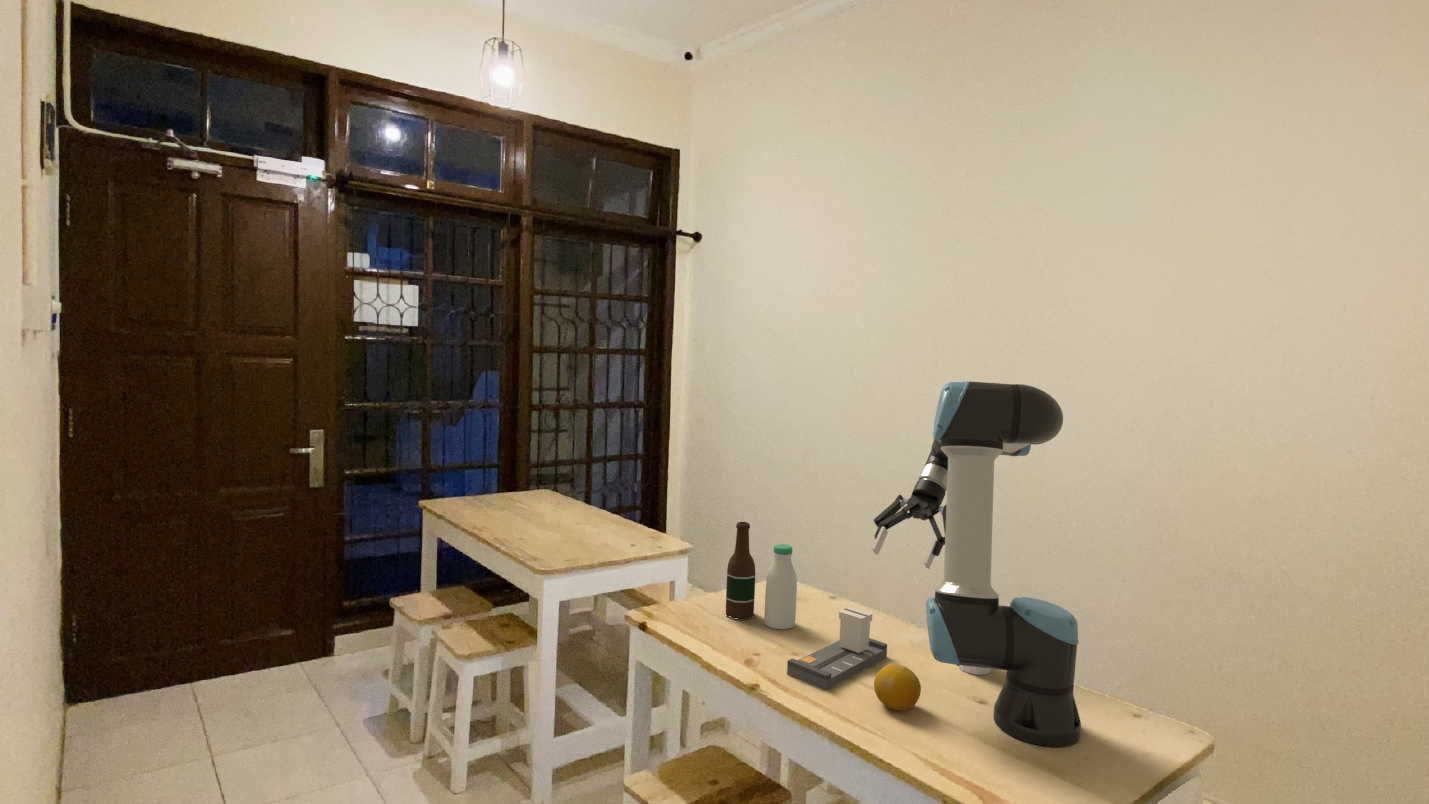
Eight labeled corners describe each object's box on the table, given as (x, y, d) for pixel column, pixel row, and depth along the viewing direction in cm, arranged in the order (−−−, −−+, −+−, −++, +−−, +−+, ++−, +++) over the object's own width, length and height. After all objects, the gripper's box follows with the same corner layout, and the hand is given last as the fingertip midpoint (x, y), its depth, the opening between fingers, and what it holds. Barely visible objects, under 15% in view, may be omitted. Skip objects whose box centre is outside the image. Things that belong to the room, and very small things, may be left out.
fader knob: (848, 640, 175) (850, 606, 174) (870, 648, 171) (872, 613, 170) (837, 646, 171) (839, 611, 171) (859, 654, 168) (861, 618, 167)
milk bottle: (799, 629, 187) (803, 549, 185) (769, 631, 185) (773, 550, 183) (789, 618, 194) (792, 541, 193) (760, 619, 192) (763, 542, 191)
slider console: (848, 643, 179) (849, 631, 179) (886, 656, 172) (887, 644, 172) (787, 674, 162) (787, 660, 161) (826, 690, 155) (826, 675, 155)
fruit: (921, 702, 151) (924, 663, 150) (916, 720, 144) (919, 679, 143) (876, 693, 154) (879, 655, 154) (869, 710, 147) (871, 670, 146)
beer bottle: (759, 612, 197) (763, 521, 195) (747, 622, 190) (751, 528, 188) (731, 607, 201) (735, 517, 199) (719, 616, 193) (723, 523, 191)
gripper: (983, 504, 186) (953, 579, 177) (891, 485, 203) (859, 553, 194) (976, 487, 182) (945, 563, 173) (882, 469, 198) (849, 538, 189)
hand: (899, 558), depth 183 cm, fingers open, 13 cm apart
